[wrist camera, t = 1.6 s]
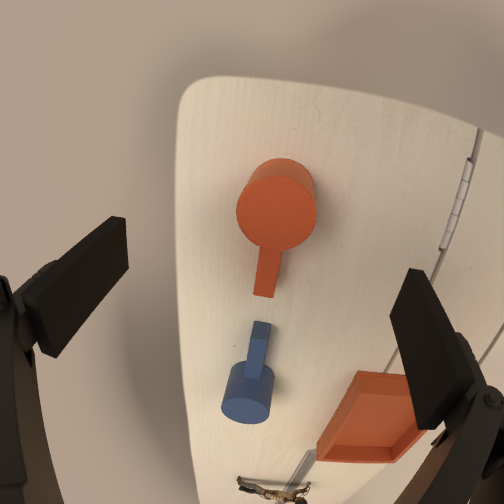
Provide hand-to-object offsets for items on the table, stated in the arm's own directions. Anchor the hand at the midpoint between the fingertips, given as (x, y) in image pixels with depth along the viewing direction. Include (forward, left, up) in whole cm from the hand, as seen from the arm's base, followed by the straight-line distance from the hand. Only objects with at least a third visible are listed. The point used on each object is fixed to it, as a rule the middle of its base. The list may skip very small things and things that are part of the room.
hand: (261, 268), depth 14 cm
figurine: (+42, +32, -11) cm, 53 cm away
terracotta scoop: (+2, +1, -11) cm, 11 cm away
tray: (+14, +27, -11) cm, 33 cm away
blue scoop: (+16, +9, -11) cm, 21 cm away
